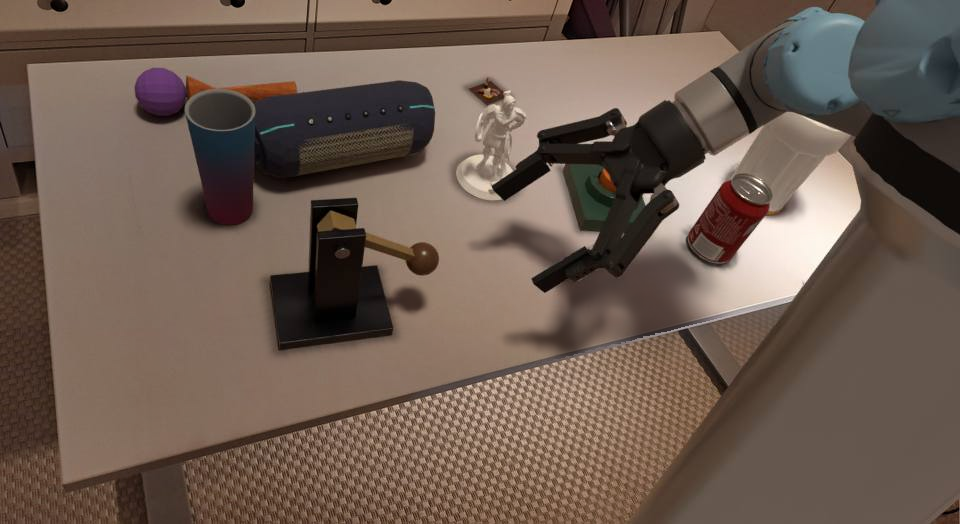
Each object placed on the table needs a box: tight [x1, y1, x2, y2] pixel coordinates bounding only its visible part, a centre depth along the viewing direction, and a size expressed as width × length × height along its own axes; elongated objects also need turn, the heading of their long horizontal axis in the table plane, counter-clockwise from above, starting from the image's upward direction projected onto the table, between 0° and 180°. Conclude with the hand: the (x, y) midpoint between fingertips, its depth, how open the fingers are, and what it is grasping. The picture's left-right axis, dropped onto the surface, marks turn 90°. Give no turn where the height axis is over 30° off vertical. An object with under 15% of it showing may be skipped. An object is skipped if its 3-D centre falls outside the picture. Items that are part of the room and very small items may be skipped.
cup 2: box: [728, 112, 852, 216], centre depth 97 cm, size 11×11×17 cm
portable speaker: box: [252, 80, 436, 179], centre depth 85 cm, size 25×10×10 cm, turn 118°
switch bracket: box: [269, 197, 394, 350], centre depth 67 cm, size 12×9×15 cm
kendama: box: [133, 67, 298, 117], centre depth 88 cm, size 6×6×20 cm
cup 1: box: [184, 89, 256, 226], centre depth 73 cm, size 7×7×15 cm
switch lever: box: [317, 211, 440, 276], centre depth 67 cm, size 14×4×4 cm
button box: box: [562, 164, 647, 234], centre depth 93 cm, size 12×10×4 cm
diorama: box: [468, 76, 505, 106], centre depth 105 cm, size 3×4×2 cm
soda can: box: [687, 173, 773, 264], centre depth 89 cm, size 7×7×12 cm
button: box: [599, 169, 617, 193], centre depth 91 cm, size 4×4×2 cm
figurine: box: [455, 89, 527, 201], centre depth 87 cm, size 9×9×15 cm
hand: (516, 237), depth 73 cm, fingers open, 13 cm apart
